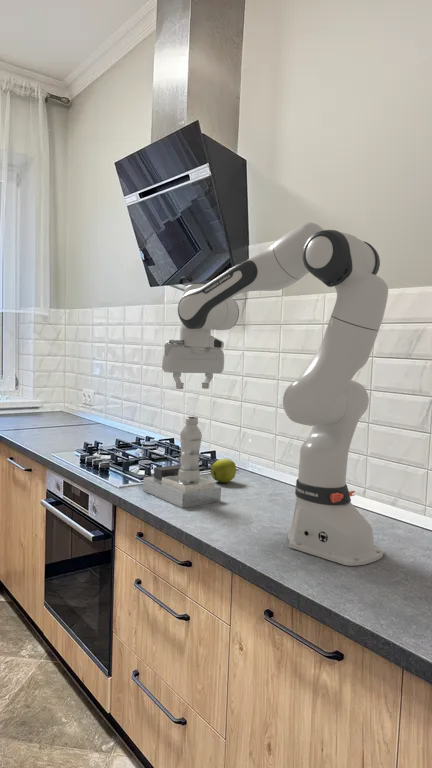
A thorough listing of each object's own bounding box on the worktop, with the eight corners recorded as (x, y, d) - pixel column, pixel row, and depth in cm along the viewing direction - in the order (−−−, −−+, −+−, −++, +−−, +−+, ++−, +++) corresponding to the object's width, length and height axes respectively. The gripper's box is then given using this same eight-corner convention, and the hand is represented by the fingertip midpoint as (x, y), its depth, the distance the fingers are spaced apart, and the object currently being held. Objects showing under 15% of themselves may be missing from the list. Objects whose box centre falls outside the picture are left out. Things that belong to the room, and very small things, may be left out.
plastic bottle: (173, 486, 154) (176, 417, 153) (182, 481, 160) (186, 415, 159) (194, 489, 152) (197, 419, 151) (202, 484, 158) (206, 417, 157)
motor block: (220, 500, 156) (221, 477, 156) (181, 507, 147) (183, 482, 147) (174, 482, 174) (175, 461, 173) (137, 488, 165) (138, 465, 164)
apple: (241, 483, 177) (242, 460, 177) (219, 486, 172) (220, 462, 172) (227, 478, 184) (229, 455, 183) (205, 480, 179) (207, 457, 178)
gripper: (171, 339, 145) (169, 390, 146) (228, 342, 158) (225, 389, 159) (158, 338, 150) (156, 388, 151) (214, 342, 163) (212, 387, 164)
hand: (192, 388), depth 155 cm, fingers open, 8 cm apart
